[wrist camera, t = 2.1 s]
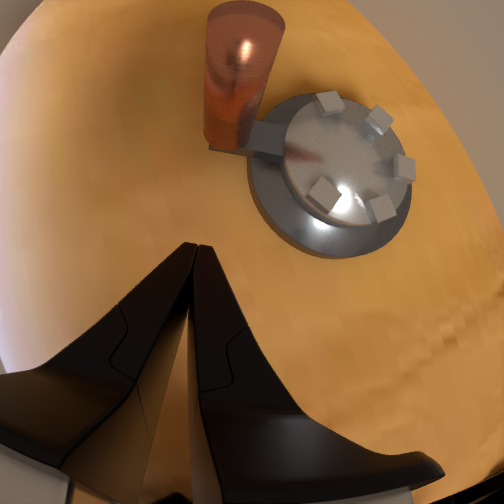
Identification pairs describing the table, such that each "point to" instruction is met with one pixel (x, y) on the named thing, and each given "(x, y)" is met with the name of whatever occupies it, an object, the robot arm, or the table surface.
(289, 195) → the flange base
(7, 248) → the table surface
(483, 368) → the table surface
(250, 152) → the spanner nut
